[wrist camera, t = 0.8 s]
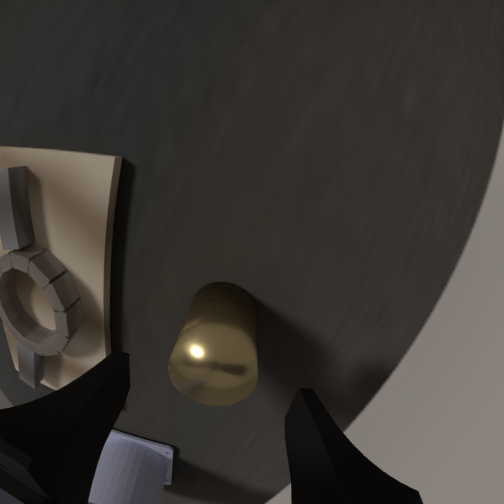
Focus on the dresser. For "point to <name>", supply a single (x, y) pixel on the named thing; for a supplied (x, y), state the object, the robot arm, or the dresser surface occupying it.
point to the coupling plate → (74, 242)
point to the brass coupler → (217, 347)
